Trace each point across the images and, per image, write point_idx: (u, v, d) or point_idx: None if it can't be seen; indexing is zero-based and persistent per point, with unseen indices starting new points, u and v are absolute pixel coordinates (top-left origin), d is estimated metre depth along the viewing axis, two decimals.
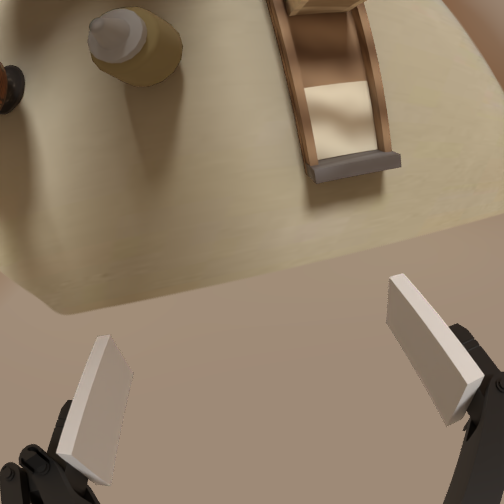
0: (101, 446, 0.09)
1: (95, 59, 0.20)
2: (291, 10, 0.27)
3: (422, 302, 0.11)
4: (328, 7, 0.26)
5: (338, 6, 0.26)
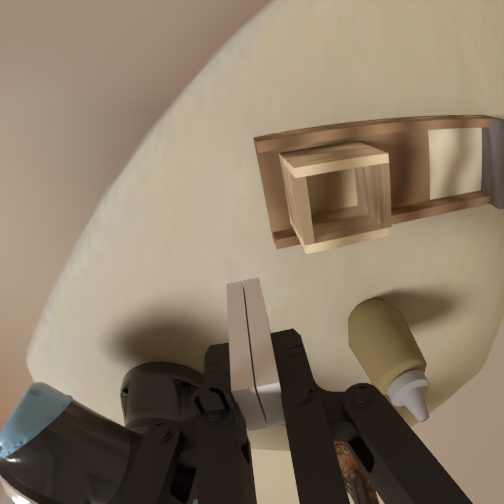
0: None
1: None
2: None
3: (258, 305, 0.13)
4: None
5: None
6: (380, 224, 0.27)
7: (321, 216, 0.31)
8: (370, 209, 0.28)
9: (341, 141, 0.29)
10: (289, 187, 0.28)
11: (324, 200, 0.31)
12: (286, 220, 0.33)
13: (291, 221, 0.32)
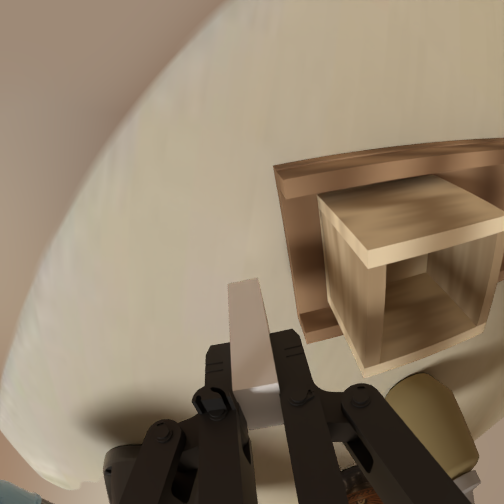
0: None
1: None
2: None
3: (257, 305, 0.13)
4: None
5: None
6: (471, 318, 0.15)
7: None
8: (453, 289, 0.16)
9: None
10: (339, 262, 0.16)
11: None
12: (321, 297, 0.21)
13: (331, 302, 0.20)
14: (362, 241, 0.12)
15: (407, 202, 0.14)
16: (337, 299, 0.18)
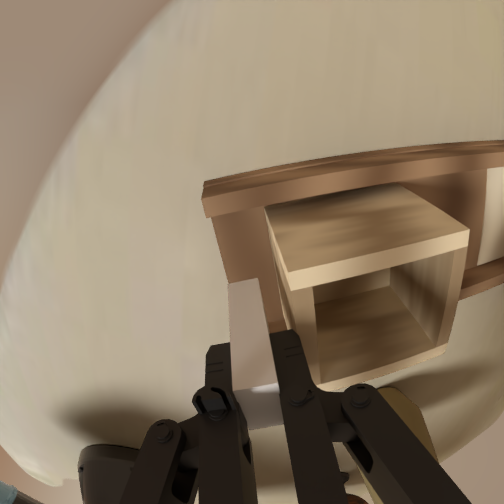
0: None
1: None
2: None
3: (257, 305, 0.13)
4: None
5: None
6: (430, 338, 0.14)
7: (333, 310, 0.19)
8: (414, 306, 0.16)
9: None
10: (280, 278, 0.16)
11: (339, 282, 0.19)
12: None
13: (284, 315, 0.20)
14: (286, 261, 0.12)
15: (353, 215, 0.14)
16: (285, 314, 0.18)
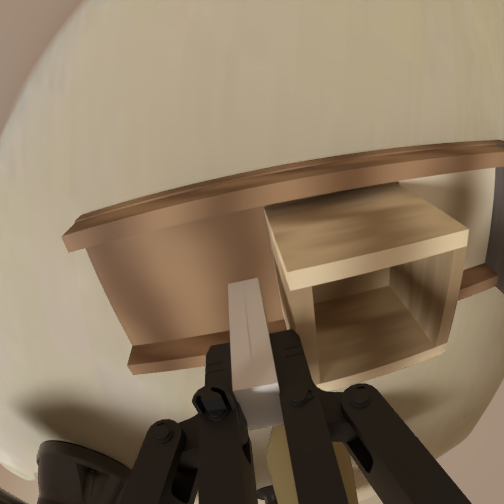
0: None
1: None
2: None
3: (257, 305, 0.13)
4: None
5: None
6: (430, 338, 0.14)
7: (332, 310, 0.19)
8: (413, 306, 0.16)
9: None
10: (280, 278, 0.16)
11: (338, 282, 0.19)
12: (147, 332, 0.21)
13: (284, 315, 0.20)
14: (286, 261, 0.12)
15: (353, 215, 0.14)
16: (285, 313, 0.18)
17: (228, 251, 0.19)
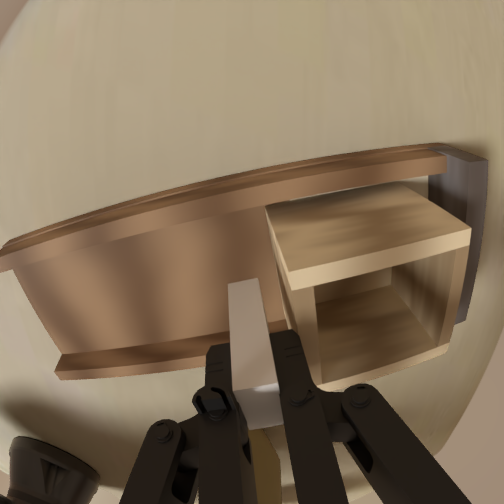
0: None
1: None
2: None
3: (257, 305, 0.13)
4: None
5: None
6: (432, 337, 0.14)
7: (334, 309, 0.19)
8: (415, 305, 0.16)
9: None
10: (281, 277, 0.16)
11: (340, 281, 0.19)
12: (71, 343, 0.21)
13: (285, 315, 0.20)
14: (287, 261, 0.12)
15: (354, 214, 0.14)
16: (286, 313, 0.18)
17: (122, 274, 0.19)
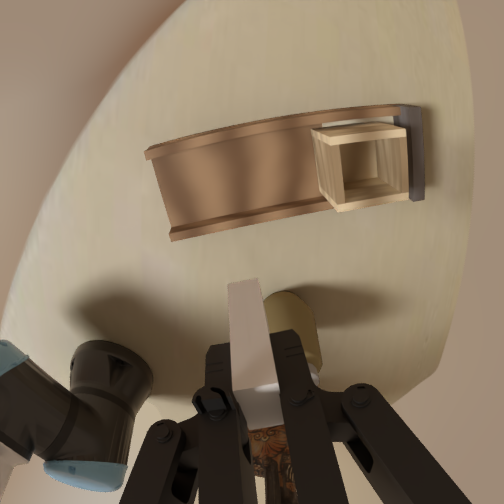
0: None
1: None
2: None
3: (257, 305, 0.13)
4: None
5: None
6: (399, 190, 0.30)
7: (347, 184, 0.34)
8: (389, 178, 0.32)
9: (226, 143, 0.33)
10: (321, 156, 0.31)
11: (349, 171, 0.34)
12: (182, 216, 0.37)
13: (321, 189, 0.35)
14: (328, 135, 0.27)
15: (354, 128, 0.30)
16: (323, 181, 0.33)
17: (231, 164, 0.34)
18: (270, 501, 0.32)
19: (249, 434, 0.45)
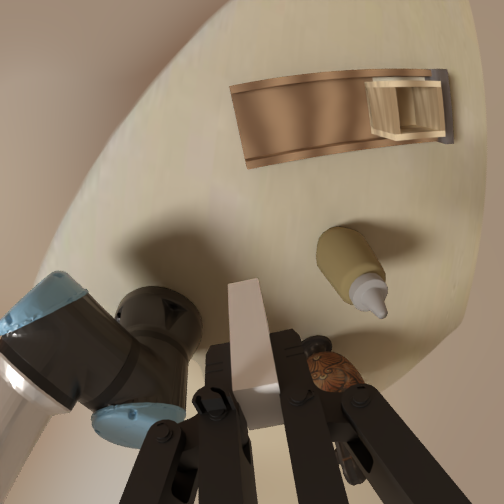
0: None
1: None
2: None
3: (257, 305, 0.13)
4: None
5: None
6: (437, 129, 0.33)
7: None
8: (428, 122, 0.35)
9: (297, 87, 0.37)
10: (377, 100, 0.35)
11: None
12: (256, 149, 0.40)
13: (373, 130, 0.39)
14: None
15: None
16: (377, 122, 0.37)
17: (301, 105, 0.38)
18: None
19: None
